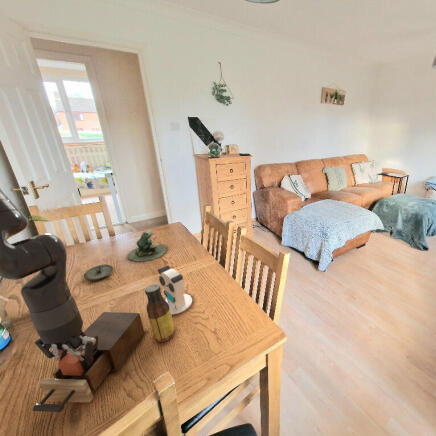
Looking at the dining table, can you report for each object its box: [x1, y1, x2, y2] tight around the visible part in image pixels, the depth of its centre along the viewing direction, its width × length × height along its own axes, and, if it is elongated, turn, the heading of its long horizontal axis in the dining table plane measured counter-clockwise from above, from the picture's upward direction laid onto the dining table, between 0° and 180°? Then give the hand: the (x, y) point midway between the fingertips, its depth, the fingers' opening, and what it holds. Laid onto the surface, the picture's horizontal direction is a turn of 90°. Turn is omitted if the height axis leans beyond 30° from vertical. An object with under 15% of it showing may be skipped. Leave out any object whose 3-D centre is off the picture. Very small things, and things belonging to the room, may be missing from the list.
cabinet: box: [78, 311, 145, 372], centre depth 73 cm, size 14×12×9 cm
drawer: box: [31, 352, 113, 413], centre depth 62 cm, size 17×10×7 cm, turn 0°
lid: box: [83, 264, 114, 282], centre depth 107 cm, size 11×10×5 cm
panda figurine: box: [157, 264, 193, 315], centre depth 91 cm, size 12×11×15 cm
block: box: [57, 348, 94, 376], centre depth 61 cm, size 4×4×4 cm
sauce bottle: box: [144, 283, 176, 343], centre depth 76 cm, size 6×6×20 cm
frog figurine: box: [127, 230, 168, 262], centre depth 126 cm, size 18×18×12 cm
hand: (78, 366), depth 62 cm, fingers closed on block, 4 cm apart
